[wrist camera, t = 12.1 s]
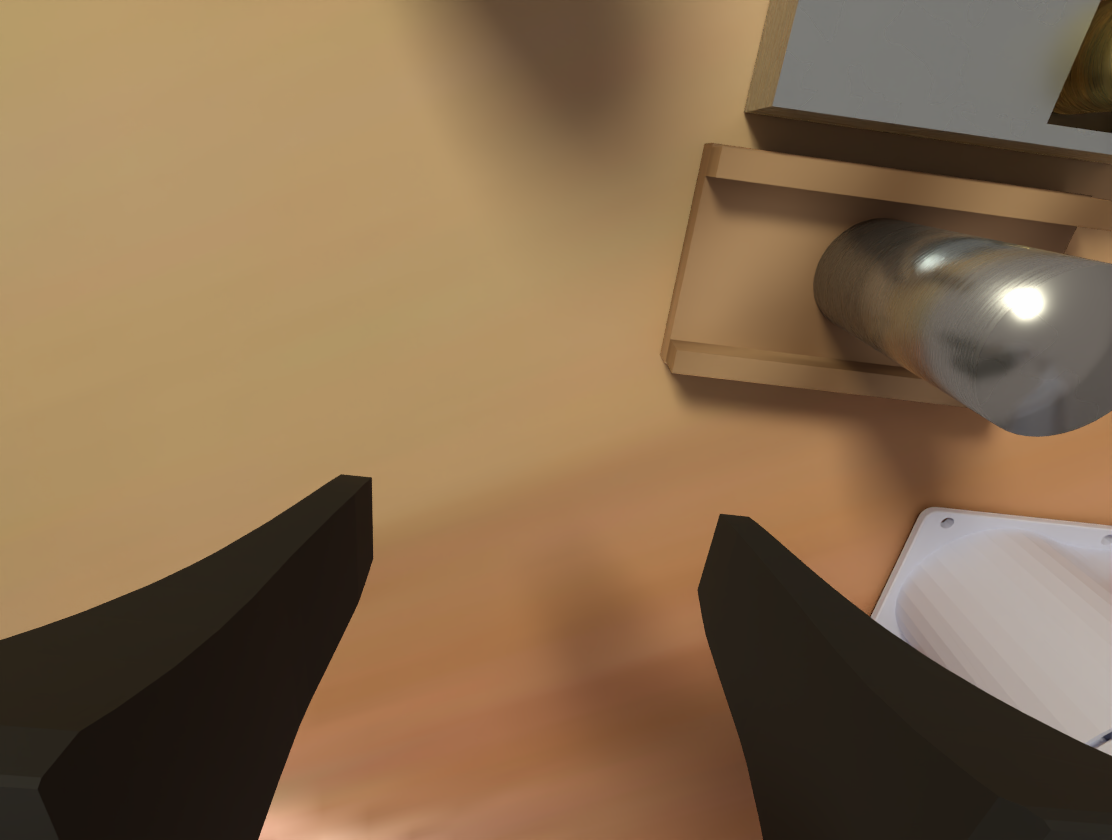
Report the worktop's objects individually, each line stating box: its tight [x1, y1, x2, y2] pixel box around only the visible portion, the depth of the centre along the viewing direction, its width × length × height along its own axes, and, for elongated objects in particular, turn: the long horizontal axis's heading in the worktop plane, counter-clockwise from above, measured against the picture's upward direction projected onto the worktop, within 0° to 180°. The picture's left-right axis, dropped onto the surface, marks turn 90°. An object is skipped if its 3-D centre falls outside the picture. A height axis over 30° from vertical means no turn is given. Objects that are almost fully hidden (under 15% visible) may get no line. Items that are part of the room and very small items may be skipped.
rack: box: [660, 143, 1112, 408], centre depth 19 cm, size 12×7×2 cm, turn 83°
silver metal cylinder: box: [813, 218, 1112, 437], centre depth 15 cm, size 4×4×8 cm
